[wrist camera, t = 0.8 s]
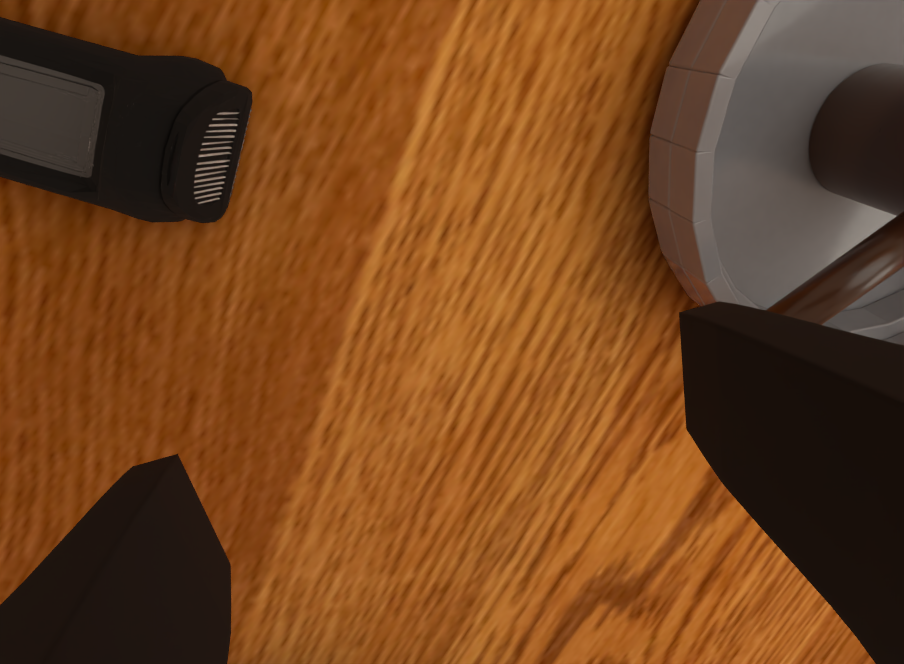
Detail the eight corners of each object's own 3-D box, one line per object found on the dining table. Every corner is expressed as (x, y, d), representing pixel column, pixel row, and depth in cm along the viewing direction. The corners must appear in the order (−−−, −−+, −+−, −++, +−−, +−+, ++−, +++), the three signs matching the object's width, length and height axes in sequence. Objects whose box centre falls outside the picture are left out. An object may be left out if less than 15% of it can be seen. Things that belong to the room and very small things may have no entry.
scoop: (940, 143, 20) (1121, 182, 16) (692, 323, 21) (796, 408, 17) (903, 34, 19) (1094, 44, 14) (636, 234, 20) (735, 302, 15)
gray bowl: (1096, 166, 22) (1205, 188, 19) (751, 408, 24) (808, 459, 21) (1002, -273, 16) (1138, -326, 14) (552, 83, 18) (596, 97, 15)
